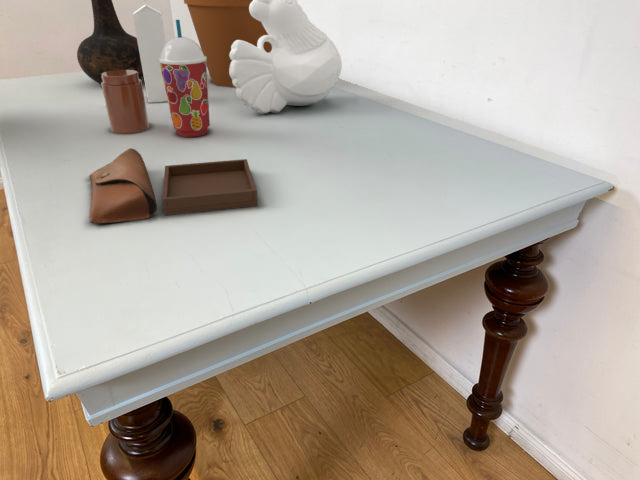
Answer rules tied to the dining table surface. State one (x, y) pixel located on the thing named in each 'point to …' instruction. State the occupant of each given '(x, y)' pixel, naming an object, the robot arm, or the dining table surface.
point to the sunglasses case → (122, 191)
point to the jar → (124, 101)
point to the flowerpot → (223, 33)
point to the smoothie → (186, 85)
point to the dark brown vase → (108, 45)
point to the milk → (151, 50)
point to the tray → (208, 187)
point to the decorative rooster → (284, 60)
